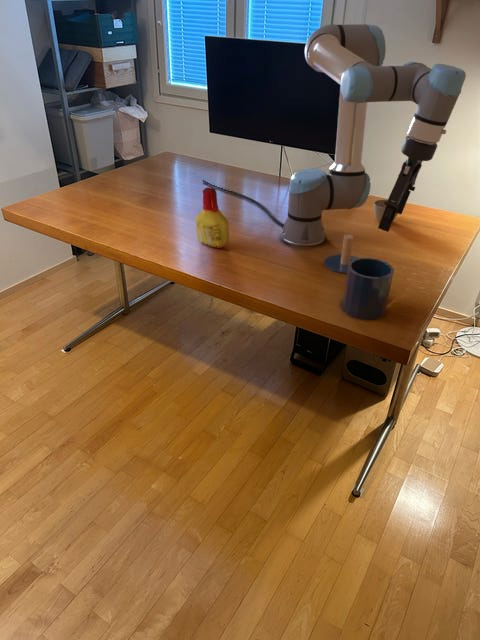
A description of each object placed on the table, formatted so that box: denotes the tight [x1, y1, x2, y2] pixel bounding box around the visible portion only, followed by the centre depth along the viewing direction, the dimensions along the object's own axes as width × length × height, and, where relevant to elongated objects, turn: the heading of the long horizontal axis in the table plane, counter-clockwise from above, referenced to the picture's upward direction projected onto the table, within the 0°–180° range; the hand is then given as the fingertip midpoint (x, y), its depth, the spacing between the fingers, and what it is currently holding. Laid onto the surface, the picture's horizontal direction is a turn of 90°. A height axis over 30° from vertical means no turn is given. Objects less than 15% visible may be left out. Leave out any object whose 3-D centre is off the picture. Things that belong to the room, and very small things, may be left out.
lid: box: [324, 234, 359, 275], centre depth 150 cm, size 13×13×10 cm
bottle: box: [195, 187, 230, 249], centre depth 159 cm, size 12×6×20 cm, turn 60°
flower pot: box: [373, 199, 399, 224], centre depth 181 cm, size 10×10×7 cm
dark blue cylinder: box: [341, 257, 395, 321], centre depth 129 cm, size 12×12×12 cm
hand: (390, 220), depth 125 cm, fingers open, 13 cm apart
